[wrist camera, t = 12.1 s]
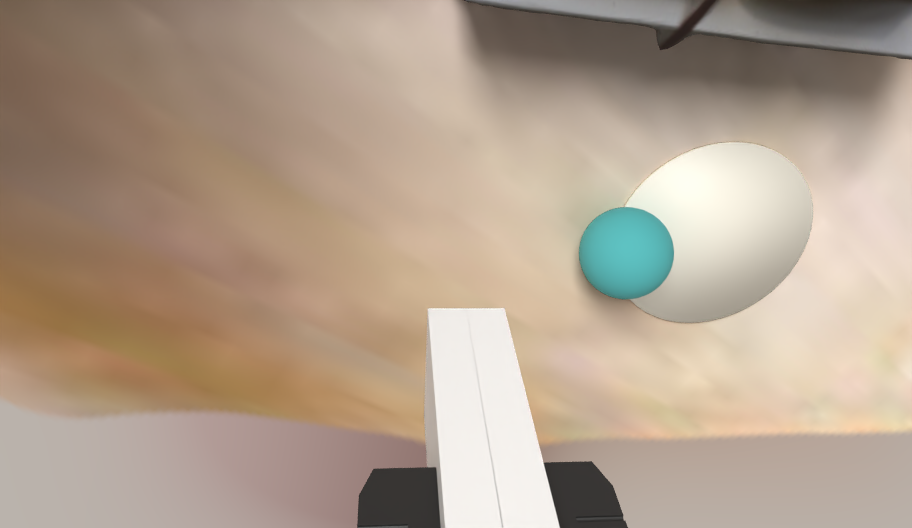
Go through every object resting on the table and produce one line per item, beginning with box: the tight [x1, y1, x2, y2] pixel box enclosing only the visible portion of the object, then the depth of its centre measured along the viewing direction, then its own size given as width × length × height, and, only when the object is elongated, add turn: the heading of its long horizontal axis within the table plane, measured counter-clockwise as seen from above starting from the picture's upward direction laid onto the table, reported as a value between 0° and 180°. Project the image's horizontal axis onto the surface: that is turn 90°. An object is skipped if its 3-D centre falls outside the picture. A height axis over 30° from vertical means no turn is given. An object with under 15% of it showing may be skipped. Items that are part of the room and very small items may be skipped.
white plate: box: [624, 142, 813, 323], centre depth 44 cm, size 13×13×1 cm
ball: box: [579, 207, 674, 299], centre depth 41 cm, size 6×6×6 cm
